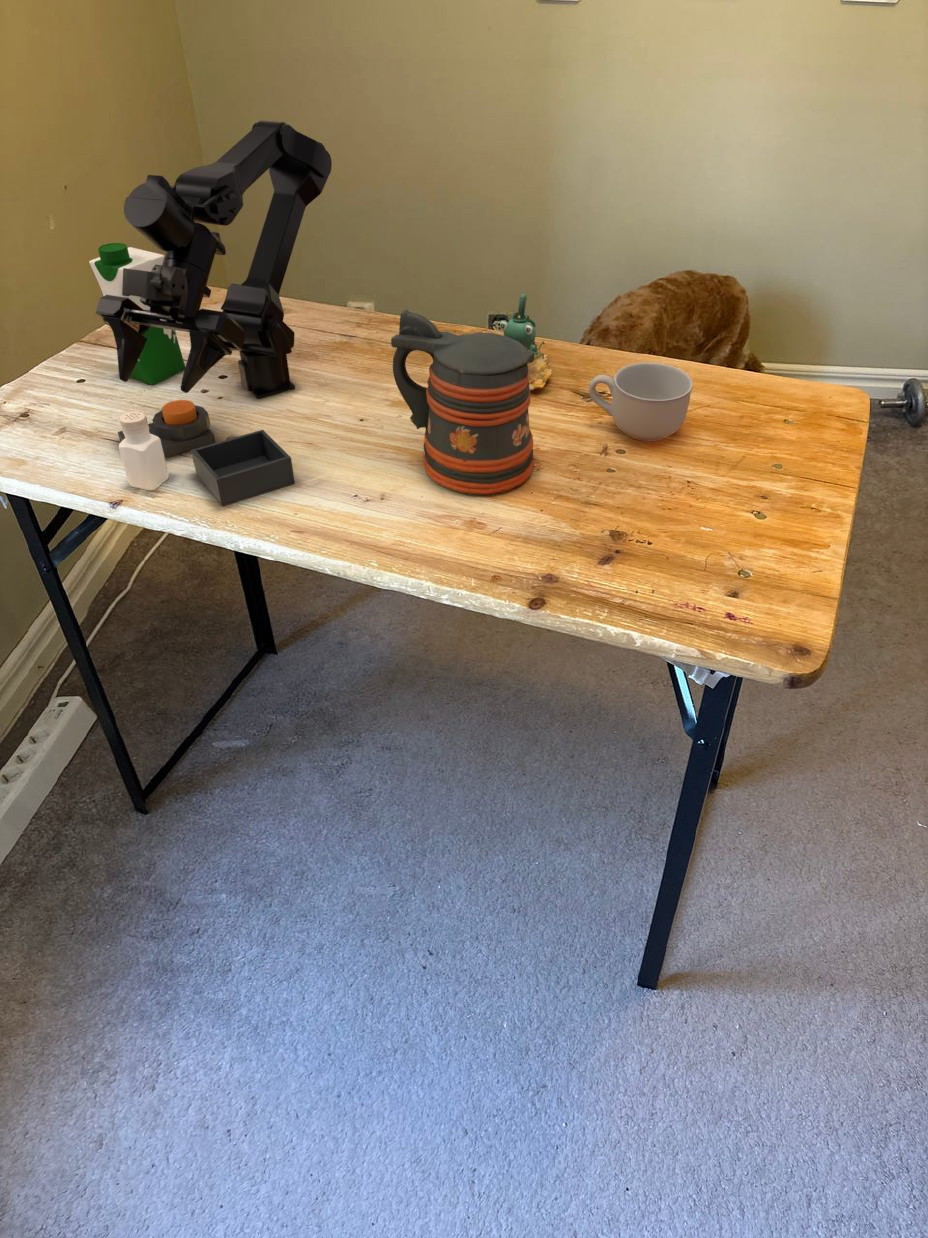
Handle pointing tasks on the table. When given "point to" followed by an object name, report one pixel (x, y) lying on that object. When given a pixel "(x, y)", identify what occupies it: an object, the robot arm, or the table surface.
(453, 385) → the beer stein
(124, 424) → the pepper shaker
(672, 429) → the teacup
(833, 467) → the table surface
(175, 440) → the button base
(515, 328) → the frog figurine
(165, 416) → the button
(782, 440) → the table surface
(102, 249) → the milk carton
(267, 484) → the dark grey open box
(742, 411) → the table surface
